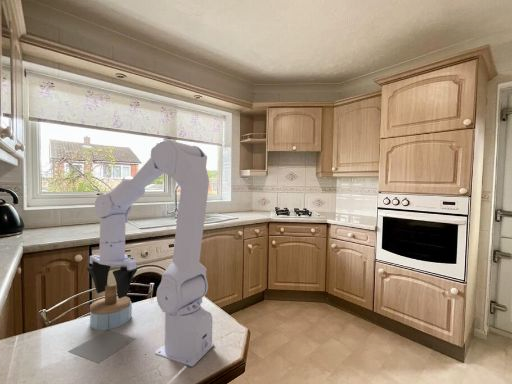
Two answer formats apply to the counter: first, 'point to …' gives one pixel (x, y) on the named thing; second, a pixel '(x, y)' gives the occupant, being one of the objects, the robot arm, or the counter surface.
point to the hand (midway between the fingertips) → (111, 294)
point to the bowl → (110, 319)
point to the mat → (102, 346)
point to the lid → (110, 302)
